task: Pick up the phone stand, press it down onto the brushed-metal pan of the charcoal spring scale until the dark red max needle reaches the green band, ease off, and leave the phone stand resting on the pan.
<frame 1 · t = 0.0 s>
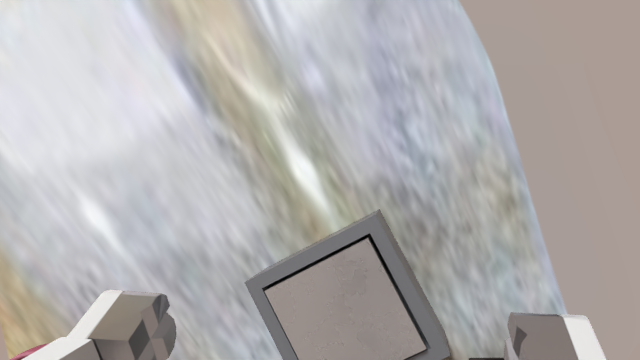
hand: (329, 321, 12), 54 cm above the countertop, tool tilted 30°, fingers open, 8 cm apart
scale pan: (349, 329, 57), point 9 cm above the countertop, slide at 0.3 cm
scale housing: (352, 298, 66), on the countertop
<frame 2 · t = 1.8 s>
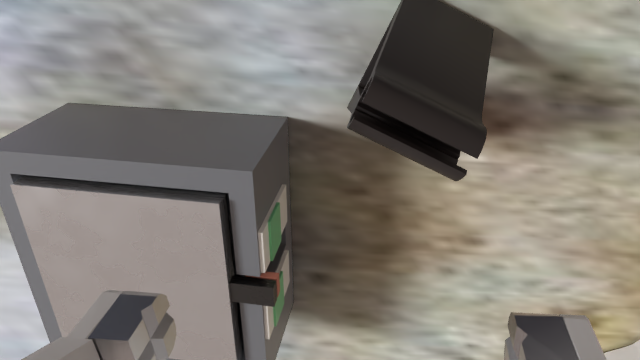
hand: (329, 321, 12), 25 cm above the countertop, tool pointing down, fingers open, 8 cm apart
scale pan: (155, 279, 34), point 9 cm above the countertop, slide at 0.3 cm
scale housing: (188, 209, 42), on the countertop
max needle: (262, 283, 33), point 8 cm above the countertop, slide at 0.0 cm
phone stand: (415, 68, 33), on the countertop
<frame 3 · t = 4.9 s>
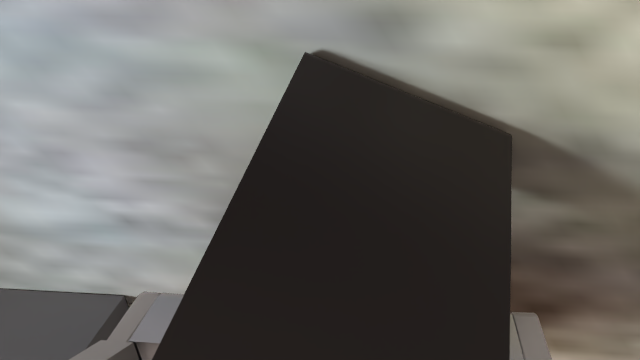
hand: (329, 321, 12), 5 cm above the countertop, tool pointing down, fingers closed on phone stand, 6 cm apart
phone stand: (349, 211, 16), on the countertop, touching gripper
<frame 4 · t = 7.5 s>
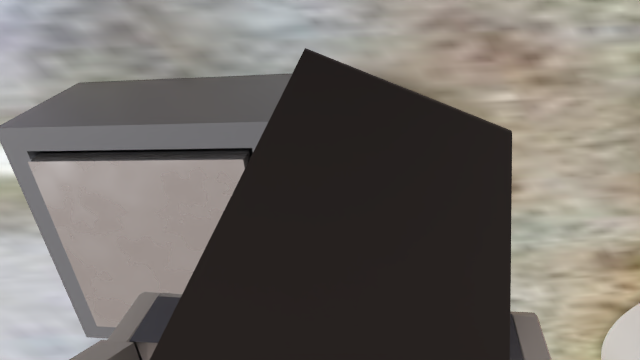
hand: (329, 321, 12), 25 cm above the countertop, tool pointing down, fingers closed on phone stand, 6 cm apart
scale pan: (184, 249, 33), point 9 cm above the countertop, slide at 0.3 cm
scale housing: (210, 183, 41), on the countertop
phone stand: (350, 207, 16), point 20 cm above the countertop, touching gripper
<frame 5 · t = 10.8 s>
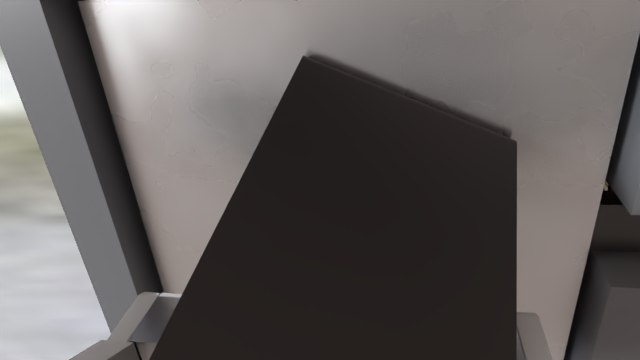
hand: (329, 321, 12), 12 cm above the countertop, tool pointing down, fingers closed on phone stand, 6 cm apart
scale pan: (398, 216, 15), point 7 cm above the countertop, slide at 1.9 cm, touching phone stand, max needle
scale housing: (368, 125, 22), on the countertop
phone stand: (349, 218, 15), point 8 cm above the countertop, touching gripper, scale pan
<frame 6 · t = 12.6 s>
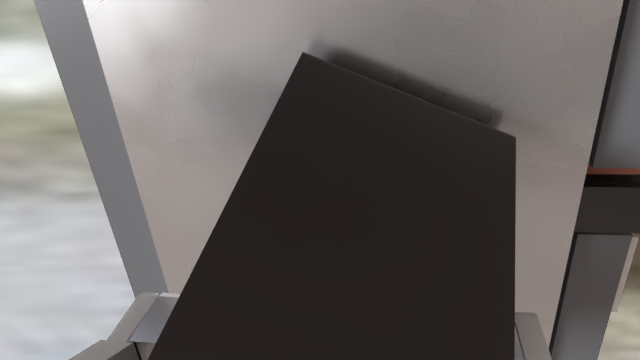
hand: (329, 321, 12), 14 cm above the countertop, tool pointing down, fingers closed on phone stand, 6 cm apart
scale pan: (391, 200, 16), point 9 cm above the countertop, slide at 0.4 cm
scale housing: (364, 103, 24), on the countertop
max needle: (606, 162, 17), point 6 cm above the countertop, slide at 1.9 cm
phone stand: (349, 214, 15), point 10 cm above the countertop, touching gripper
when the fingers open (15 cm above the countertop, at t = 13.6 s): phone stand drops 1 cm, resting on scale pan.
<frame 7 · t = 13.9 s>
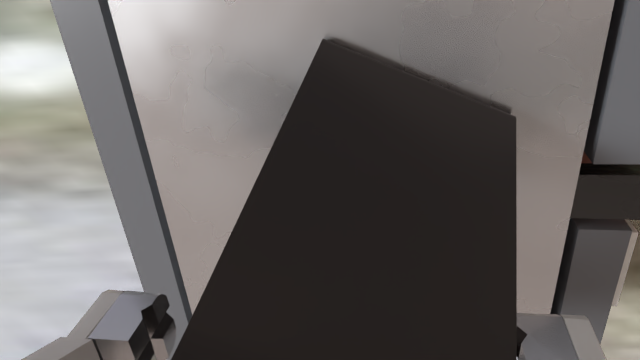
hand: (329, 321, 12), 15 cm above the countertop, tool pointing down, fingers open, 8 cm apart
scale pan: (396, 188, 17), point 9 cm above the countertop, slide at 0.9 cm, touching phone stand
scale housing: (369, 102, 24), on the countertop
max needle: (606, 159, 17), point 6 cm above the countertop, slide at 1.9 cm
phone stand: (362, 191, 17), point 9 cm above the countertop, touching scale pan
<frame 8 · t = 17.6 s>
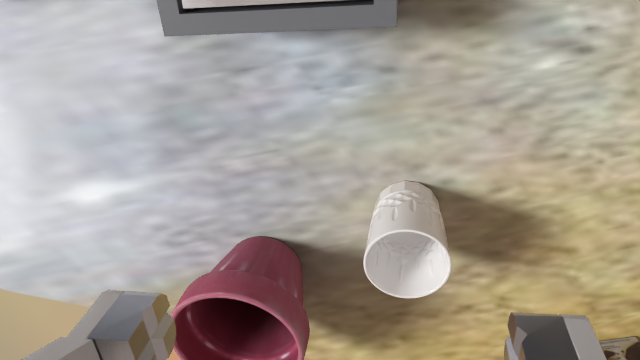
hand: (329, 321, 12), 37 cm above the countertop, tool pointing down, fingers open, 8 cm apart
white cup: (406, 206, 53), on the countertop
plant pot: (266, 265, 60), on the countertop
coffee box: (597, 357, 59), on the countertop
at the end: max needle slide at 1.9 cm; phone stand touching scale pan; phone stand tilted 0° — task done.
